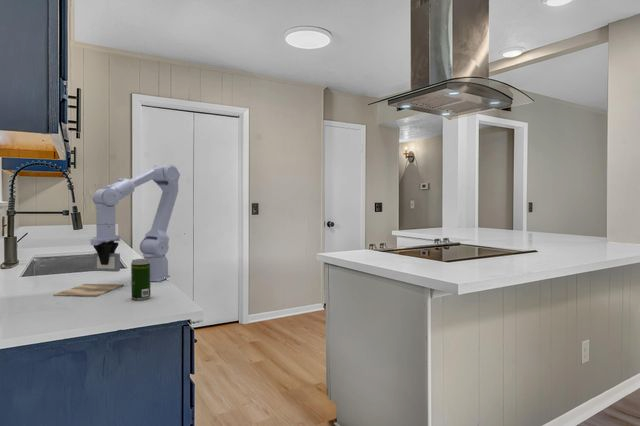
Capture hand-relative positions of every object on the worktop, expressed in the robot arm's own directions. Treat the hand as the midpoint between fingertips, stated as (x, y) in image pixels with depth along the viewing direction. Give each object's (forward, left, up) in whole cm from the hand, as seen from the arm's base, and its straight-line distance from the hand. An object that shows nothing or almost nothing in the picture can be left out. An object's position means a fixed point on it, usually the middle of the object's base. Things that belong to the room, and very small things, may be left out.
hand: (106, 264), depth 137 cm
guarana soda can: (+11, +18, -9) cm, 23 cm away
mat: (+2, -4, -9) cm, 10 cm away
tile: (0, 0, -2) cm, 2 cm away
